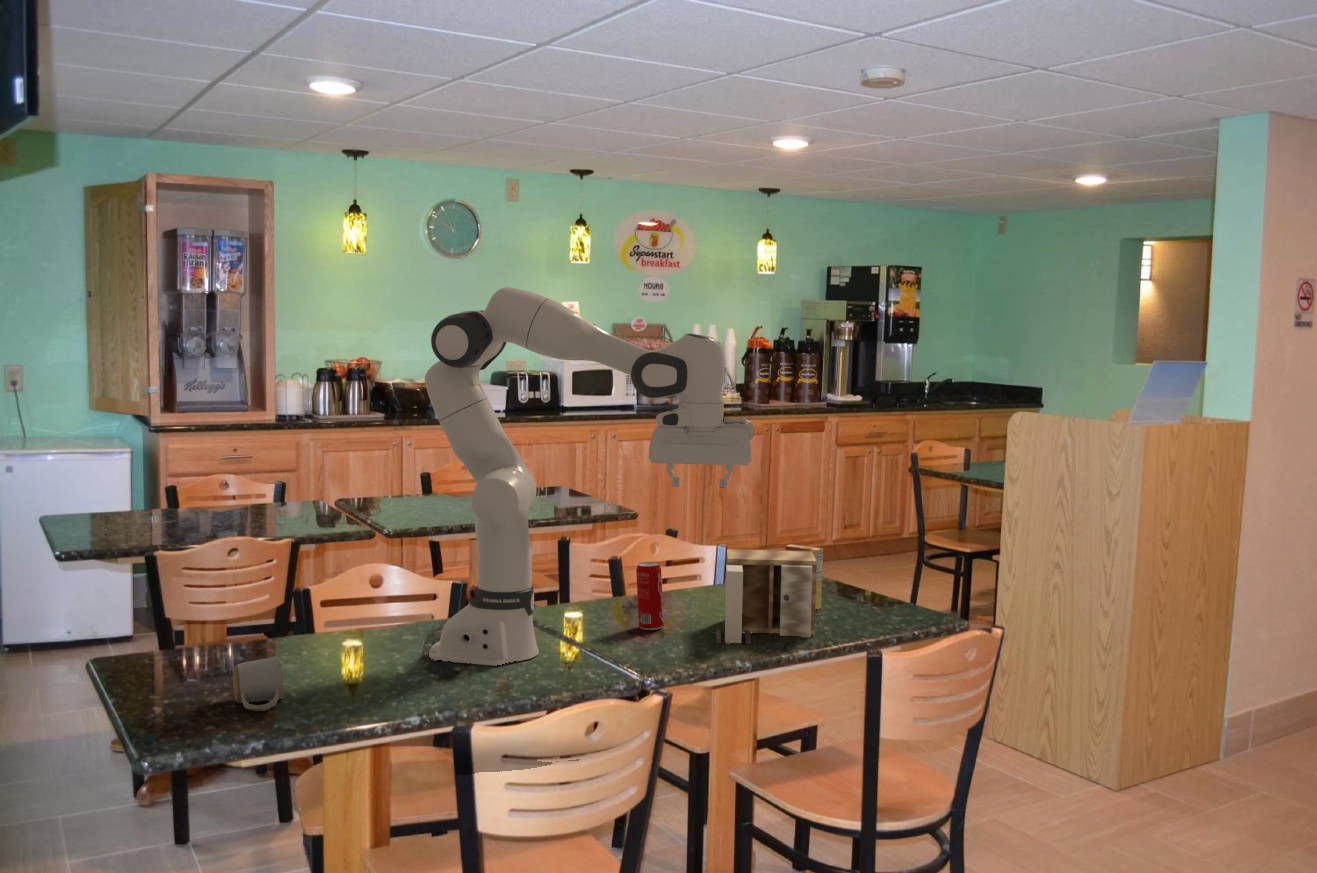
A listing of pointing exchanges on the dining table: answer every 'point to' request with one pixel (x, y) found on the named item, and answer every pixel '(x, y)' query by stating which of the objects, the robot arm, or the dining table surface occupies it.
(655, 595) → the beverage can
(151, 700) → the dining table surface
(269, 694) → the ceramic mug
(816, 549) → the candy box
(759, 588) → the cabinet
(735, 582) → the door
